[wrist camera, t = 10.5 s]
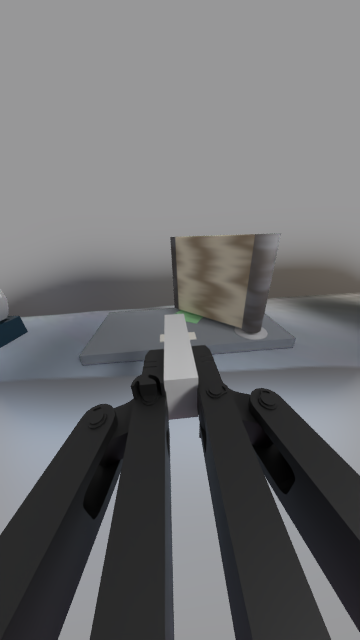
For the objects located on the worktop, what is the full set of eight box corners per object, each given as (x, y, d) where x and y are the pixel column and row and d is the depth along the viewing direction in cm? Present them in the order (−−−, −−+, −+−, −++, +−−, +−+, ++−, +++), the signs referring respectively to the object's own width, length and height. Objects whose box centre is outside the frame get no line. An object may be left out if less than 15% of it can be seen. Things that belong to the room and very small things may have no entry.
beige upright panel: (263, 327, 24) (283, 233, 19) (257, 335, 22) (277, 234, 17) (181, 304, 33) (179, 236, 28) (172, 308, 31) (168, 237, 26)
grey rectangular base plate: (250, 309, 35) (251, 302, 34) (292, 347, 23) (295, 337, 22) (111, 319, 33) (109, 312, 32) (82, 365, 22) (78, 355, 21)
